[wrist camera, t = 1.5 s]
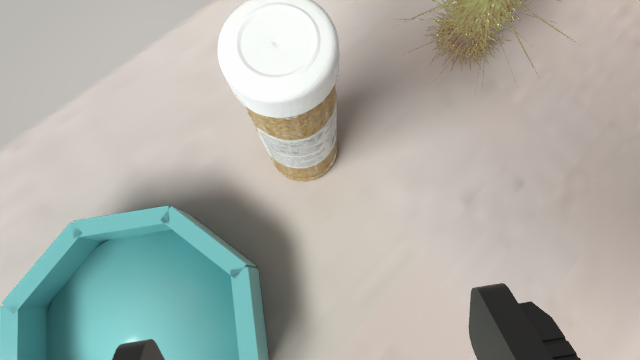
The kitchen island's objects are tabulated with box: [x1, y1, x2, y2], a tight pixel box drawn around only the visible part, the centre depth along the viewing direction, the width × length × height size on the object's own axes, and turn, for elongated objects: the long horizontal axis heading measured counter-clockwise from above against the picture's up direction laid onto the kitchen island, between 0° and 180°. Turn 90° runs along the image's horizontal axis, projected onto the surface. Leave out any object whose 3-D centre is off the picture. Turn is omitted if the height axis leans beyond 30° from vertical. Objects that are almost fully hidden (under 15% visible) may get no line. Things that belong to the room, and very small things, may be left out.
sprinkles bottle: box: [218, 0, 339, 181], centre depth 22 cm, size 5×5×14 cm
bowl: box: [0, 206, 269, 360], centre depth 25 cm, size 14×14×3 cm
